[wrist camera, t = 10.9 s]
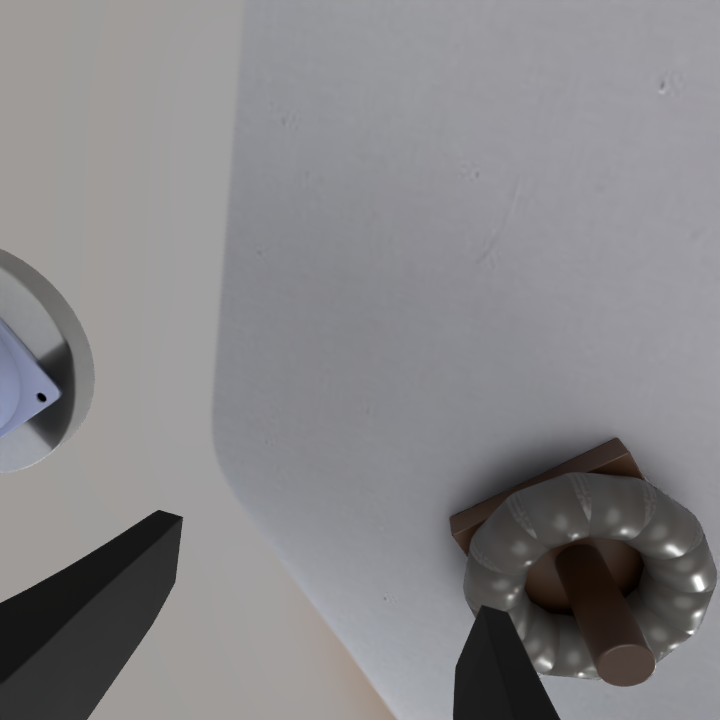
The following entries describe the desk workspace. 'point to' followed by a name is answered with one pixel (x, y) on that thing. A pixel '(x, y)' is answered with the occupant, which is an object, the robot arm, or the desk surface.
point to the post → (585, 575)
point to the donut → (597, 520)
